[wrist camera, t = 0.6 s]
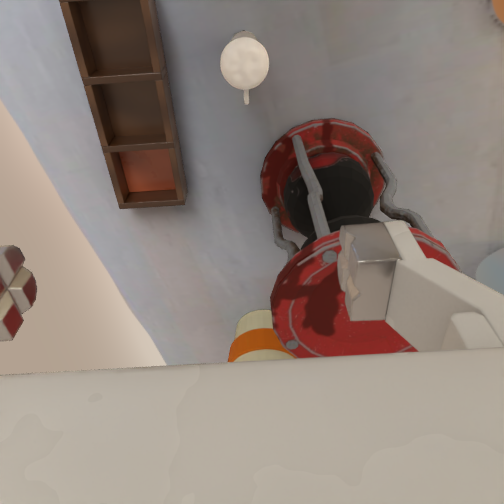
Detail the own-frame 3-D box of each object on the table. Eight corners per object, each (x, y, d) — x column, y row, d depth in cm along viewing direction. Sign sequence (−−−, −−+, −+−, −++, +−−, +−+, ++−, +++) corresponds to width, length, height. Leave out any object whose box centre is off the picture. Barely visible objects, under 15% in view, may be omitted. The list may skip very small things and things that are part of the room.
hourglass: (352, 91, 48) (431, 197, 28) (400, 194, 57) (487, 332, 37) (236, 160, 53) (233, 293, 33) (296, 246, 62) (323, 393, 42)
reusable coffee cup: (244, 359, 77) (244, 436, 65) (213, 315, 70) (207, 393, 58) (308, 340, 74) (321, 417, 62) (283, 292, 67) (292, 369, 55)
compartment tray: (68, -11, 42) (56, -8, 39) (152, -17, 42) (145, -14, 39) (125, 195, 56) (119, 209, 53) (187, 191, 56) (184, 205, 53)
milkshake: (225, 77, 47) (222, 105, 39) (221, 24, 44) (217, 42, 36) (265, 75, 47) (270, 103, 39) (264, 22, 44) (269, 40, 36)
